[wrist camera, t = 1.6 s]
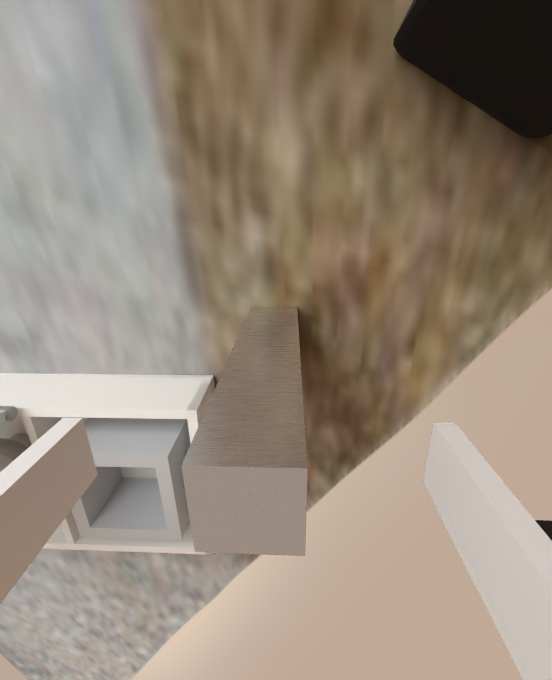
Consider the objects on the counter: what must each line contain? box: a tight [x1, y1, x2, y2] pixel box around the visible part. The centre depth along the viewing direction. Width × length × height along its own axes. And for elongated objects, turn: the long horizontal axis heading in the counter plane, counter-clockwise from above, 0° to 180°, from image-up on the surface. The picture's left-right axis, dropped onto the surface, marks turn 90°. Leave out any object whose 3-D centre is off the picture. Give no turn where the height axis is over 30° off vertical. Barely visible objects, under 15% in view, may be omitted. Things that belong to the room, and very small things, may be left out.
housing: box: [0, 373, 215, 555], centre depth 26 cm, size 14×22×6 cm, turn 91°
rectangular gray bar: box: [181, 307, 308, 556], centre depth 17 cm, size 3×3×16 cm
